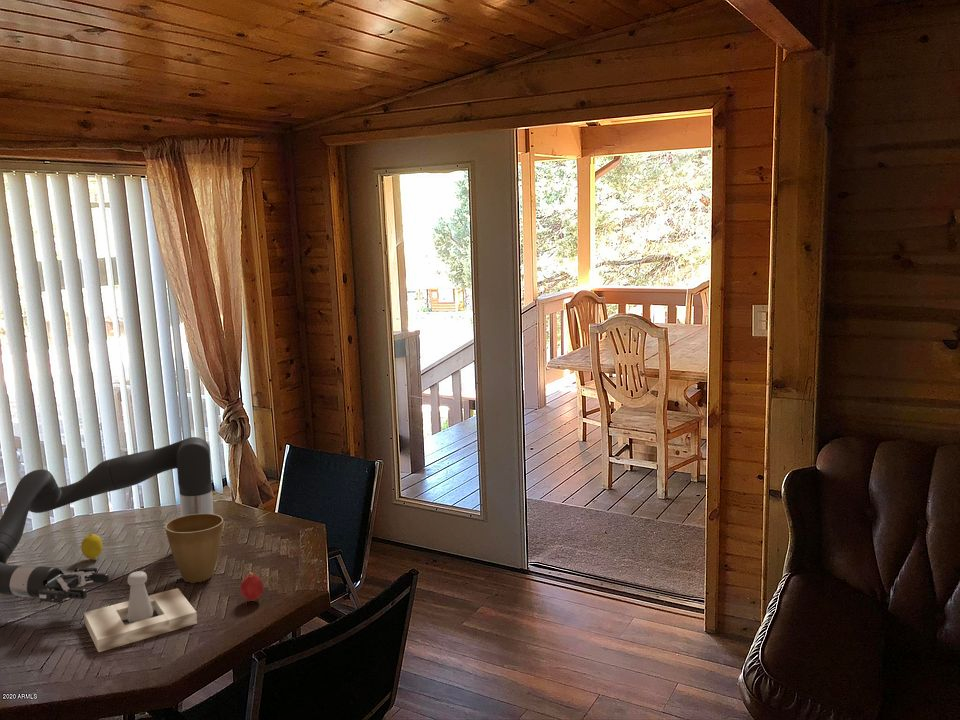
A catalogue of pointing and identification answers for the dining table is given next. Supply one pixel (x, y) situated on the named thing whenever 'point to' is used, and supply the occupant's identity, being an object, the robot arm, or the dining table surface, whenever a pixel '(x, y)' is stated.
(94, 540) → the lemon
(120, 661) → the dining table surface
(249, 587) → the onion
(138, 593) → the salt shaker
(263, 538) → the dining table surface
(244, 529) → the dining table surface
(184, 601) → the hole board
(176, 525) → the plant pot
